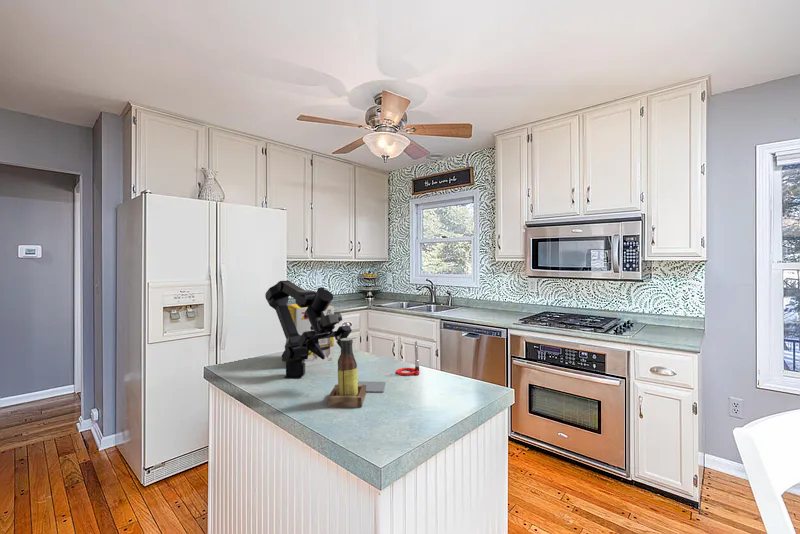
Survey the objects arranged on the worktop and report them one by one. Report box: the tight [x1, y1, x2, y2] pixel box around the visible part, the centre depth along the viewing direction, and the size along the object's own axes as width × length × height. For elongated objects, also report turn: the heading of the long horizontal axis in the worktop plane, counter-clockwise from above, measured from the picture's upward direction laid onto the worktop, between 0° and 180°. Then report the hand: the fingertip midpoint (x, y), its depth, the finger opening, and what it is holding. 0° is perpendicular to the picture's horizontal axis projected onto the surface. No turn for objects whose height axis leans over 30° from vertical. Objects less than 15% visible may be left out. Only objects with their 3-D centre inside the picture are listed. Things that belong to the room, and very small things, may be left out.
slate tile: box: [358, 380, 387, 394], centre depth 132 cm, size 10×10×1 cm
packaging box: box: [287, 303, 335, 368], centre depth 167 cm, size 16×16×25 cm
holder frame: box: [327, 384, 367, 408], centre depth 120 cm, size 10×11×3 cm
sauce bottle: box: [337, 337, 359, 396], centre depth 120 cm, size 7×6×20 cm
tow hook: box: [395, 340, 420, 377], centre depth 149 cm, size 8×13×9 cm
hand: (335, 356), depth 125 cm, fingers open, 9 cm apart
